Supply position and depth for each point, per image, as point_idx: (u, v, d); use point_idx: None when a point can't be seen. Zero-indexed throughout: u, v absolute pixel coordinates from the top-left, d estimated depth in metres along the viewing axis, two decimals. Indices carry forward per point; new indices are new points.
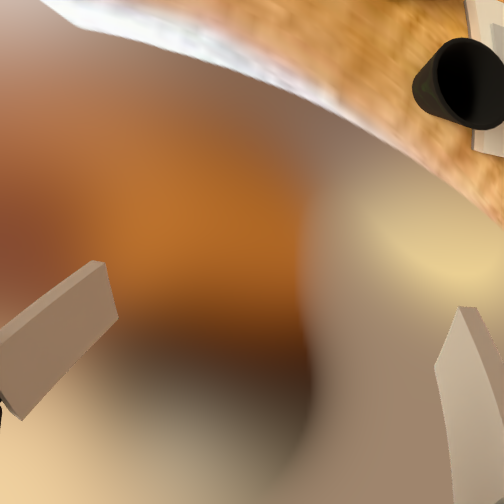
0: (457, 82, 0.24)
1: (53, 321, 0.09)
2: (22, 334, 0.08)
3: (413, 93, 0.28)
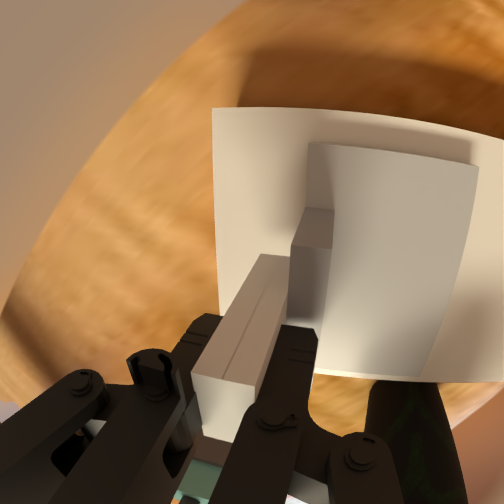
0: None
1: None
2: None
3: None
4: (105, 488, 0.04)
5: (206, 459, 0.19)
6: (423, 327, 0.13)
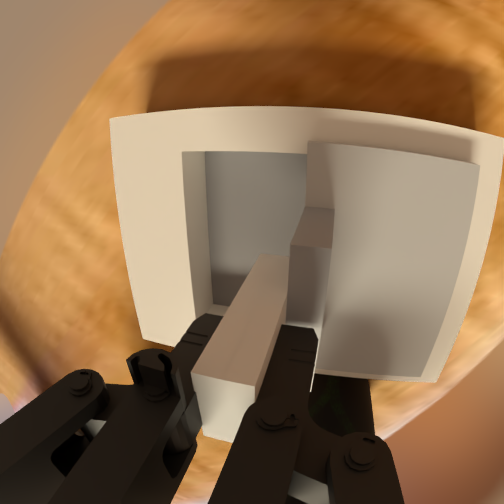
0: None
1: None
2: None
3: None
4: (105, 488, 0.04)
5: None
6: (424, 327, 0.13)
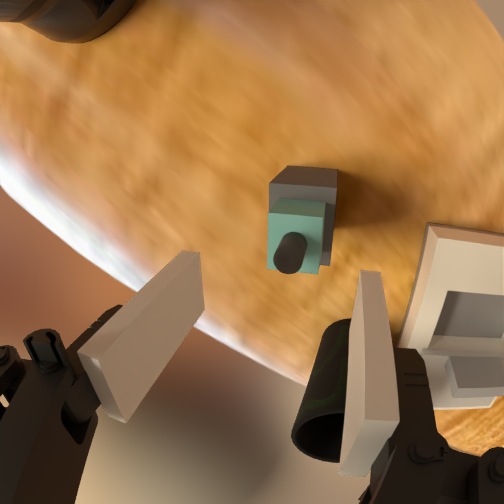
0: None
1: (160, 312, 0.10)
2: (134, 327, 0.08)
3: None
4: (17, 445, 0.04)
5: None
6: (432, 401, 0.25)
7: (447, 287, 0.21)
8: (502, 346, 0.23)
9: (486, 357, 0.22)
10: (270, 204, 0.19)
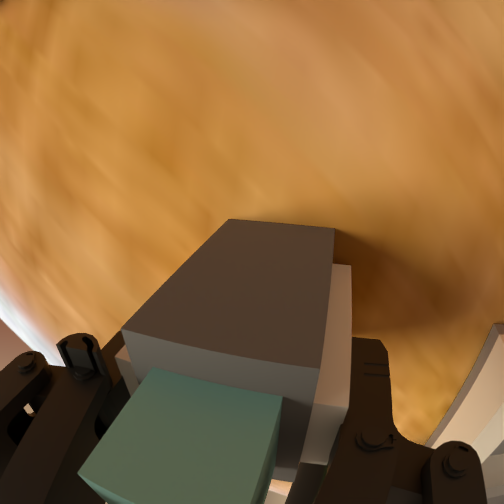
0: None
1: None
2: None
3: None
4: (46, 457, 0.04)
5: None
6: None
7: None
8: None
9: None
10: (137, 373, 0.07)
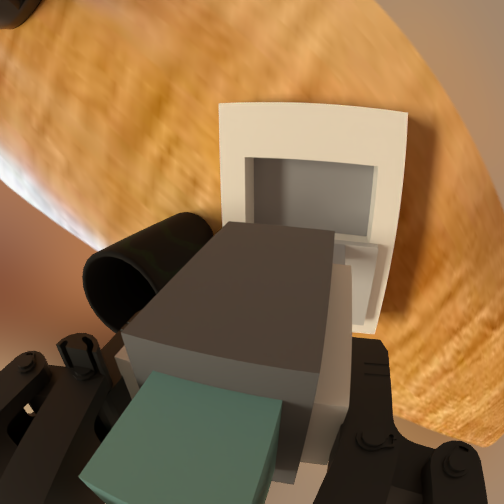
0: None
1: None
2: None
3: None
4: (46, 457, 0.04)
5: (302, 450, 0.06)
6: None
7: (243, 153, 0.23)
8: None
9: None
10: (138, 377, 0.07)
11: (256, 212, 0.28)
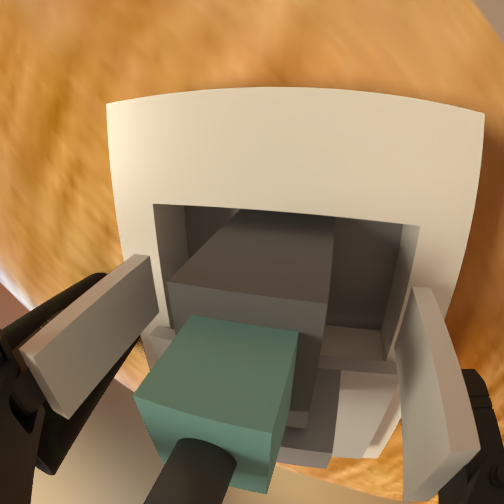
0: None
1: (102, 314, 0.10)
2: (73, 328, 0.08)
3: None
4: None
5: None
6: None
7: (149, 197, 0.12)
8: (373, 348, 0.14)
9: None
10: (176, 323, 0.08)
11: None
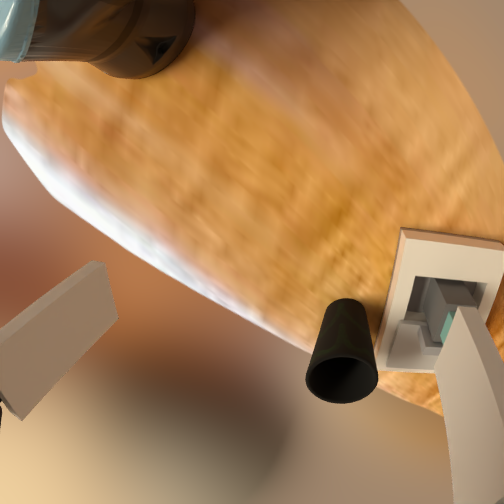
0: None
1: (53, 321, 0.09)
2: (22, 334, 0.08)
3: None
4: None
5: None
6: (411, 363, 0.36)
7: (415, 273, 0.32)
8: None
9: None
10: (443, 314, 0.28)
11: None
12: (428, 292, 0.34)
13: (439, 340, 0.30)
